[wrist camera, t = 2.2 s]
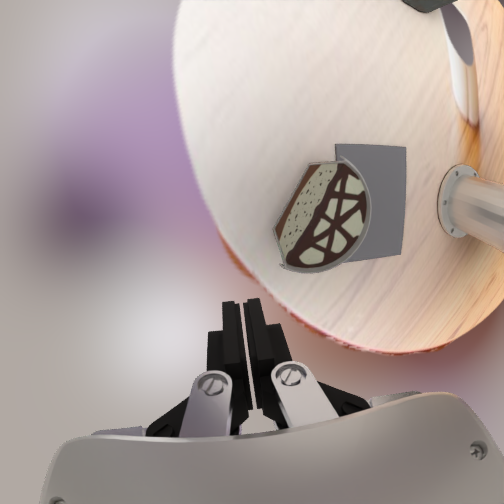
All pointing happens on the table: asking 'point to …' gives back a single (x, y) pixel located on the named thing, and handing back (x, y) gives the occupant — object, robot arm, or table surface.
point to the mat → (380, 196)
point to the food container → (324, 218)
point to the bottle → (428, 4)
